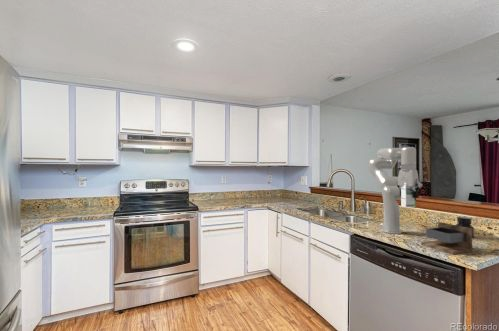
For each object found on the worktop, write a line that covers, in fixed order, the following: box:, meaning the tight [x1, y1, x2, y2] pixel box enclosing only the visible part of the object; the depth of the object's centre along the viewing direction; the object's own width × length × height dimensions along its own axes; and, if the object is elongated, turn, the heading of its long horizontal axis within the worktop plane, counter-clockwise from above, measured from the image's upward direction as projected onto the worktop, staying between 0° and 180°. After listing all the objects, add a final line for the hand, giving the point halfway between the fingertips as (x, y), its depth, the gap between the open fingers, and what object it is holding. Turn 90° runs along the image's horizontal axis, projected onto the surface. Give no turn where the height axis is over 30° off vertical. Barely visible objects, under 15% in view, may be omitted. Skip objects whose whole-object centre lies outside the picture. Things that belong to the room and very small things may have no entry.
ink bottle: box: [455, 216, 475, 239], centre depth 152 cm, size 10×9×12 cm
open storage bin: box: [425, 227, 466, 243], centre depth 129 cm, size 12×12×4 cm
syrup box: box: [400, 183, 417, 208], centre depth 141 cm, size 6×6×14 cm
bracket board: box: [420, 221, 473, 255], centre depth 129 cm, size 16×15×12 cm
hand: (408, 196), depth 141 cm, fingers closed on syrup box, 7 cm apart
